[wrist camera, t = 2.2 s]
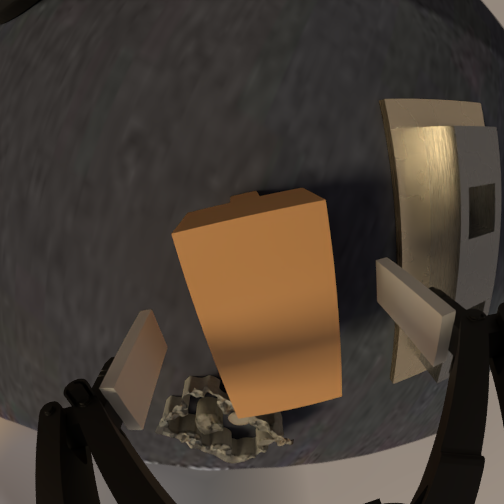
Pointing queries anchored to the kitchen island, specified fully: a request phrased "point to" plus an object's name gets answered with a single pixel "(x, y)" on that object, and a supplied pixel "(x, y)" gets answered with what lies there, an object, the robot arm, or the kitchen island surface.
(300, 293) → the orange toy brick
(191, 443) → the egg carton
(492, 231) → the beige grey stepped block
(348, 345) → the kitchen island surface
